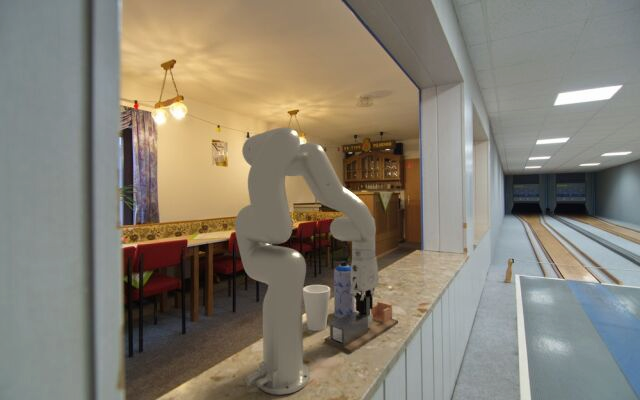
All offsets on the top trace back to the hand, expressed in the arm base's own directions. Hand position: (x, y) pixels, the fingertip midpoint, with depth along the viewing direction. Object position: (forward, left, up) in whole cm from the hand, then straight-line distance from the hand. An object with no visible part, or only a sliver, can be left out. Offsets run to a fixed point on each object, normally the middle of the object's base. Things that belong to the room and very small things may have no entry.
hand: (364, 309), depth 94 cm
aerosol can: (+7, +14, -7) cm, 17 cm away
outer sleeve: (-8, 0, -6) cm, 10 cm away
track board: (-1, 0, -7) cm, 7 cm away
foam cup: (-8, +14, -7) cm, 18 cm away
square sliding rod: (-6, 0, -5) cm, 8 cm away
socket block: (+10, 0, -6) cm, 12 cm away
